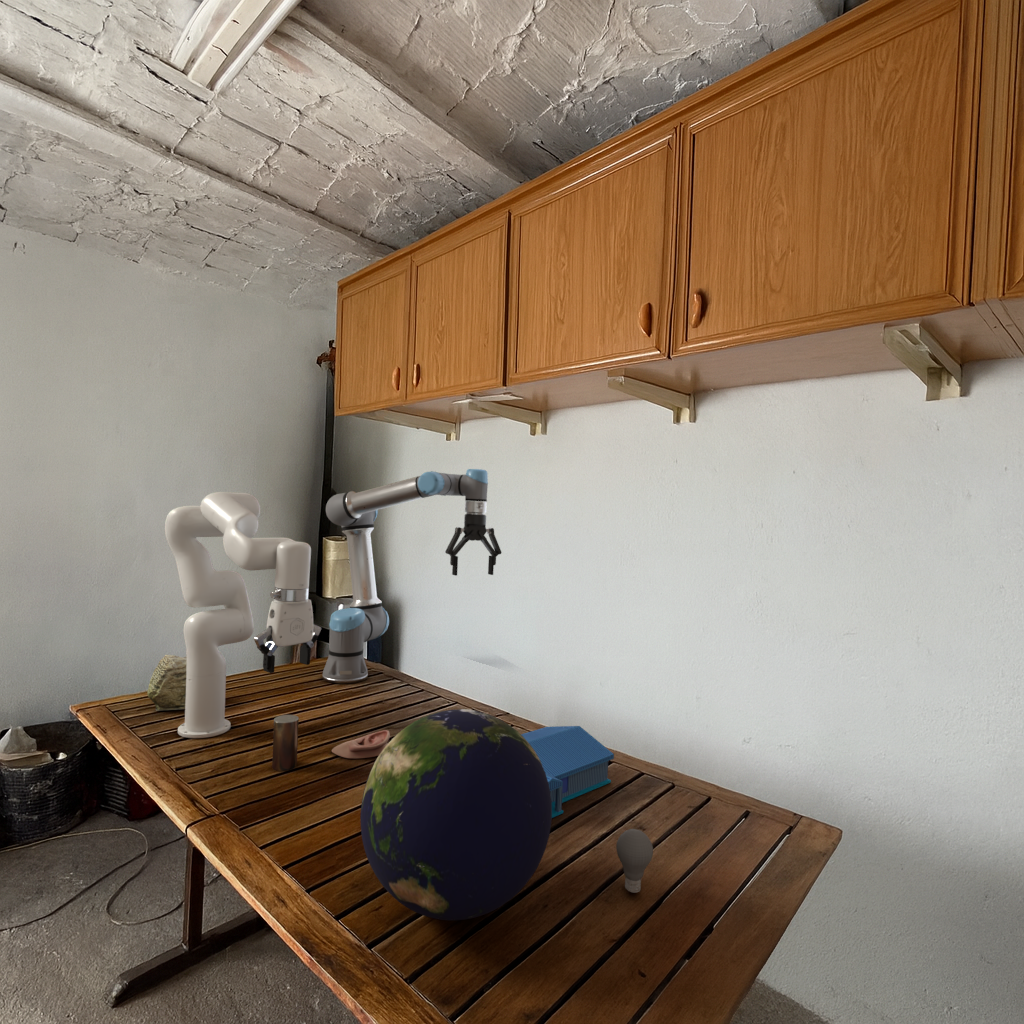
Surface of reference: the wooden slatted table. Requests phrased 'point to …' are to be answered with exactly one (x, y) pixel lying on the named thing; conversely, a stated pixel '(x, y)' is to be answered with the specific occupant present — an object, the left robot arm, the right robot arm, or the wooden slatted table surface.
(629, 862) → the light bulb
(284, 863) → the wooden slatted table surface
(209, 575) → the left robot arm
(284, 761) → the can
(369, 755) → the anatomical model
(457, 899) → the globe
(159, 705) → the fossil
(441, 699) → the wooden slatted table surface
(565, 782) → the model building
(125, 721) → the wooden slatted table surface
